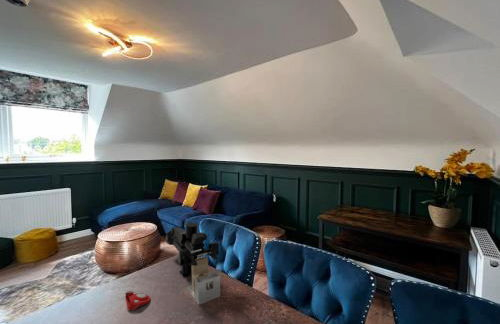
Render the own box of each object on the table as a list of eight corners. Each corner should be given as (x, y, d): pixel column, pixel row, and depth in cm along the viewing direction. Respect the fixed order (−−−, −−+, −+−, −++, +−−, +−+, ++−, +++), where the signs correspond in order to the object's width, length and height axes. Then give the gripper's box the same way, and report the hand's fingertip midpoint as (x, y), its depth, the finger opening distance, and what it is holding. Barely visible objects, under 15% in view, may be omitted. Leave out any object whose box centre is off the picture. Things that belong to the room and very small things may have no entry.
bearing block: (186, 287, 109) (186, 267, 108) (206, 280, 114) (206, 262, 114) (198, 305, 97) (198, 282, 96) (220, 296, 102) (220, 275, 102)
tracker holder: (154, 293, 103) (145, 302, 93) (151, 304, 102) (141, 314, 92) (128, 286, 103) (116, 295, 93) (124, 297, 102) (112, 307, 93)
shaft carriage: (191, 287, 107) (191, 260, 106) (205, 282, 111) (205, 256, 110) (199, 297, 100) (198, 267, 99) (213, 291, 104) (213, 263, 103)
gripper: (174, 234, 107) (186, 249, 94) (211, 226, 118) (226, 239, 105) (174, 257, 108) (185, 274, 96) (211, 247, 119) (225, 262, 106)
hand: (207, 261), depth 101 cm, fingers open, 9 cm apart
